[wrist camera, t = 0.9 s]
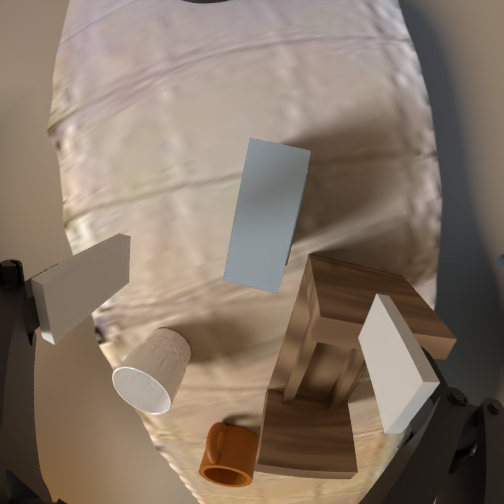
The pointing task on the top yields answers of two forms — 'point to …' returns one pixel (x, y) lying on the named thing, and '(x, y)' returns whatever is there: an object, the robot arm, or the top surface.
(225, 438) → the mug
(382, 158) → the top surface
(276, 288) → the gray rectangular block
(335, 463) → the wooden frame
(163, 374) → the white cup
